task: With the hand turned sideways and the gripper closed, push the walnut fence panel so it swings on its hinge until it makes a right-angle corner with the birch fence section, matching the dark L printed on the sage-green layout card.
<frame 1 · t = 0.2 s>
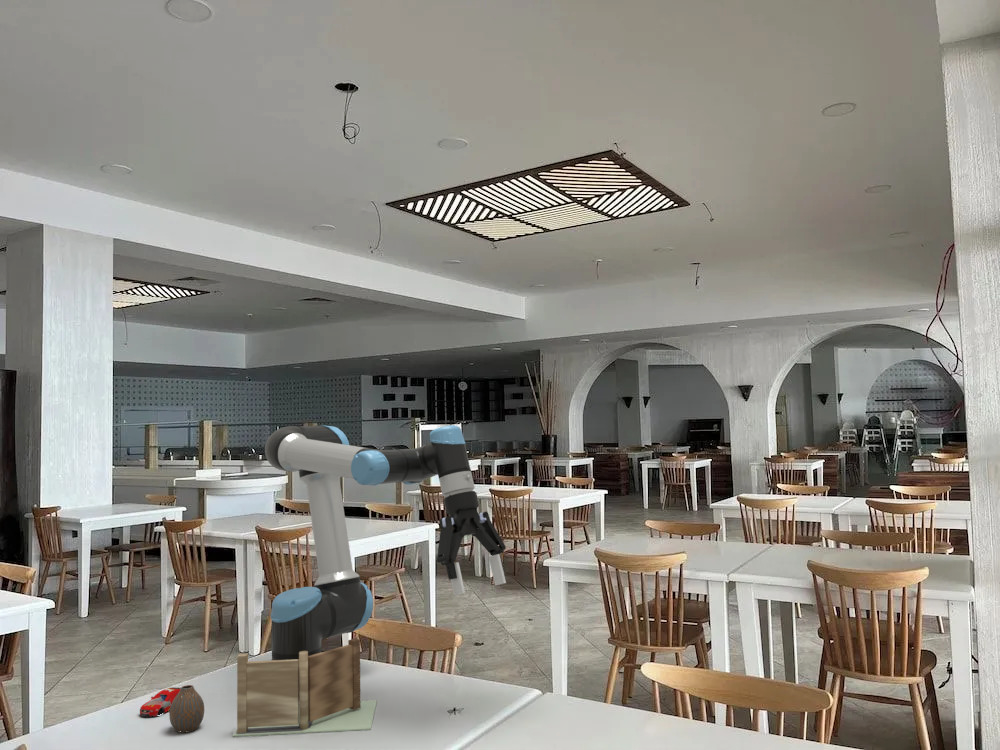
hand: (480, 589, 171), 27 cm above the table, tool tilted 15°, fingers open, 13 cm apart
walnut panel: (333, 680, 170), point 8 cm above the table, hinge at -45.0°
layout card: (308, 718, 170), on the table
race car: (165, 710, 179), on the table
birch fence section: (274, 731, 163), resting on layout card
vase: (186, 730, 166), on the table
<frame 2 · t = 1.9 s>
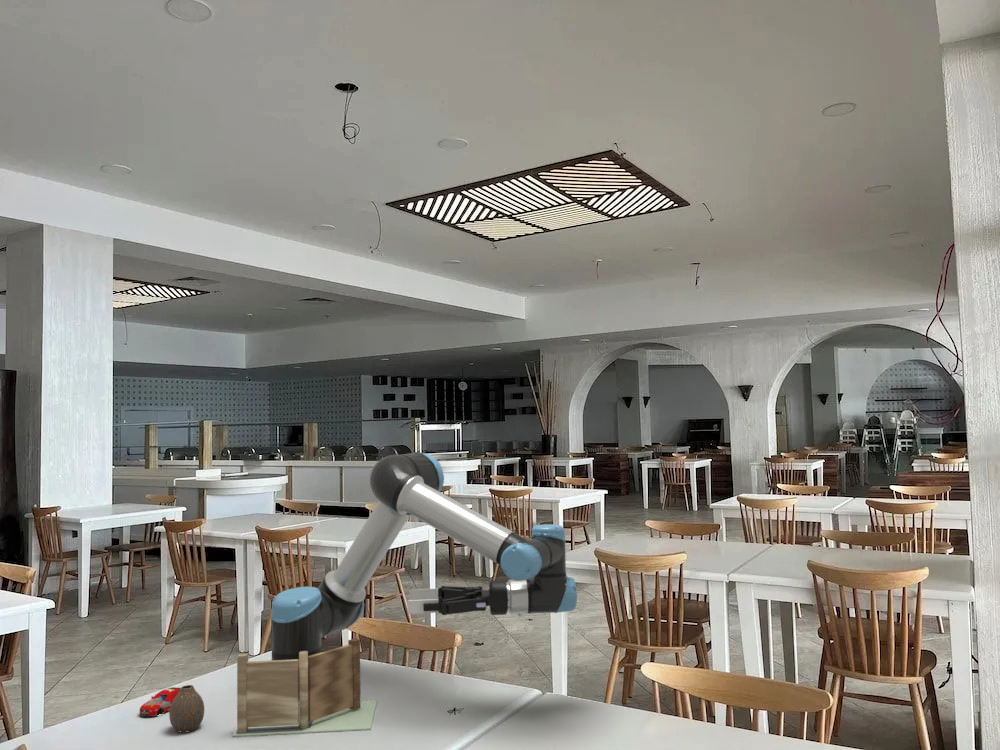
hand: (408, 601, 174), 24 cm above the table, tool horizontal, fingers open, 11 cm apart
nothing on the table moved.
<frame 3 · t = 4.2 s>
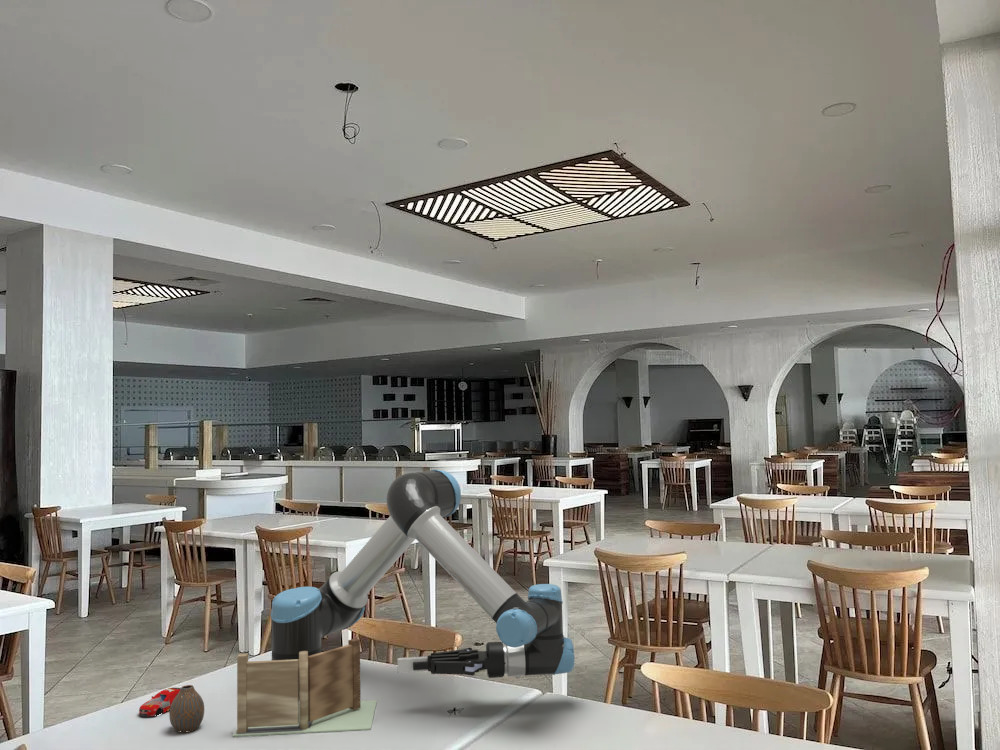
hand: (398, 665, 173), 10 cm above the table, tool horizontal, fingers closed
nothing on the table moved.
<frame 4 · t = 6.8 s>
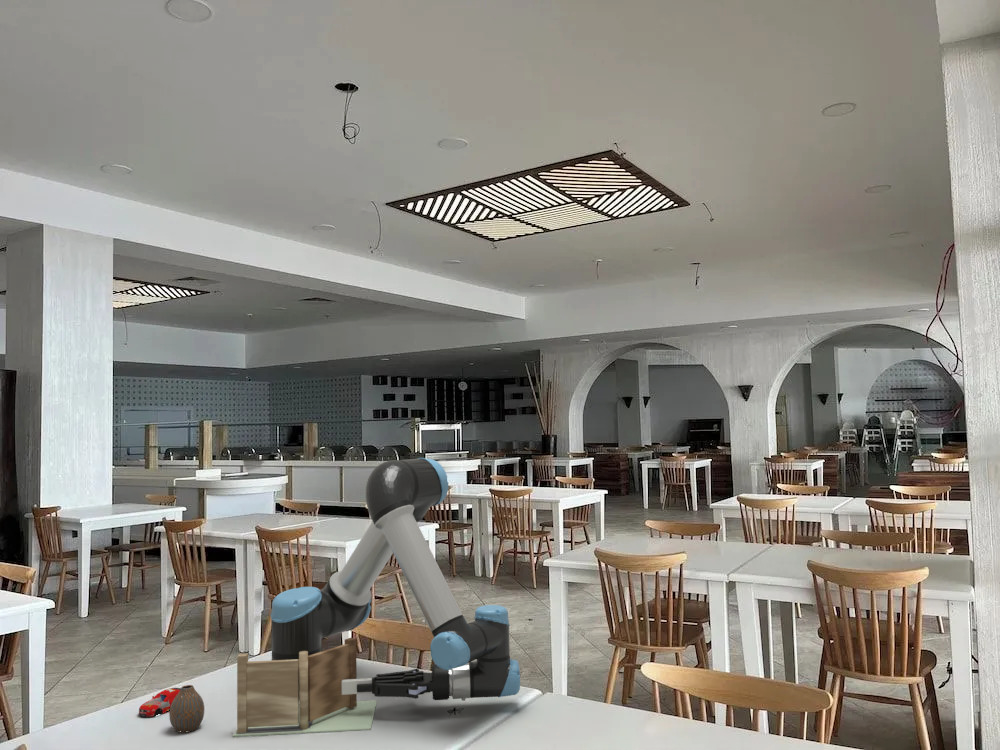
hand: (342, 687, 171), 6 cm above the table, tool horizontal, fingers closed
walnut panel: (331, 679, 171), point 8 cm above the table, hinge at -39.8°, touching gripper
everything else where it was.
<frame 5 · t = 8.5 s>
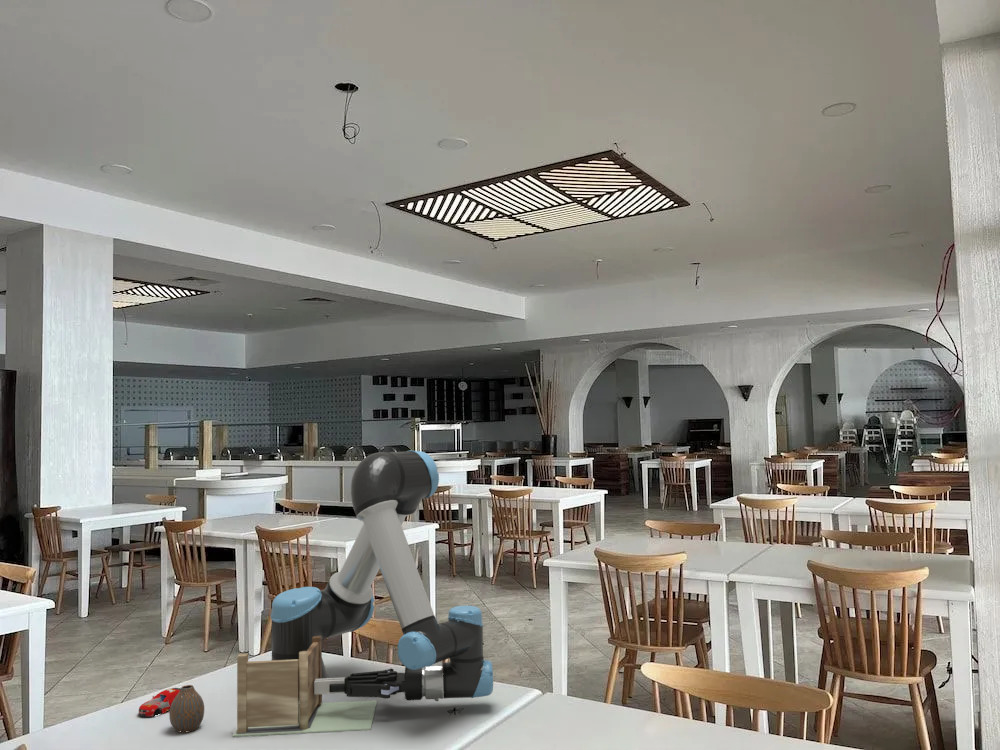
hand: (315, 686, 172), 6 cm above the table, tool horizontal, fingers closed
walnut panel: (311, 678, 172), point 8 cm above the table, hinge at -3.1°, touching gripper
everything else where it was.
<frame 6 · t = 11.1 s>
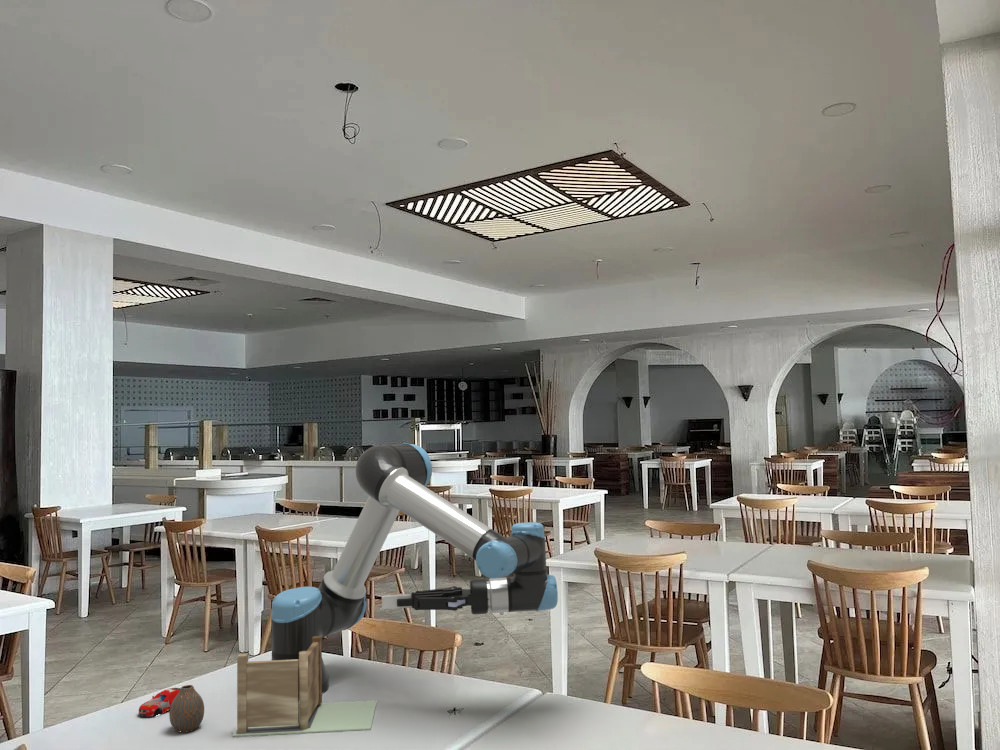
hand: (382, 602, 174), 24 cm above the table, tool horizontal, fingers closed
walnut panel: (311, 678, 172), point 8 cm above the table, hinge at -3.1°
everything else where it was.
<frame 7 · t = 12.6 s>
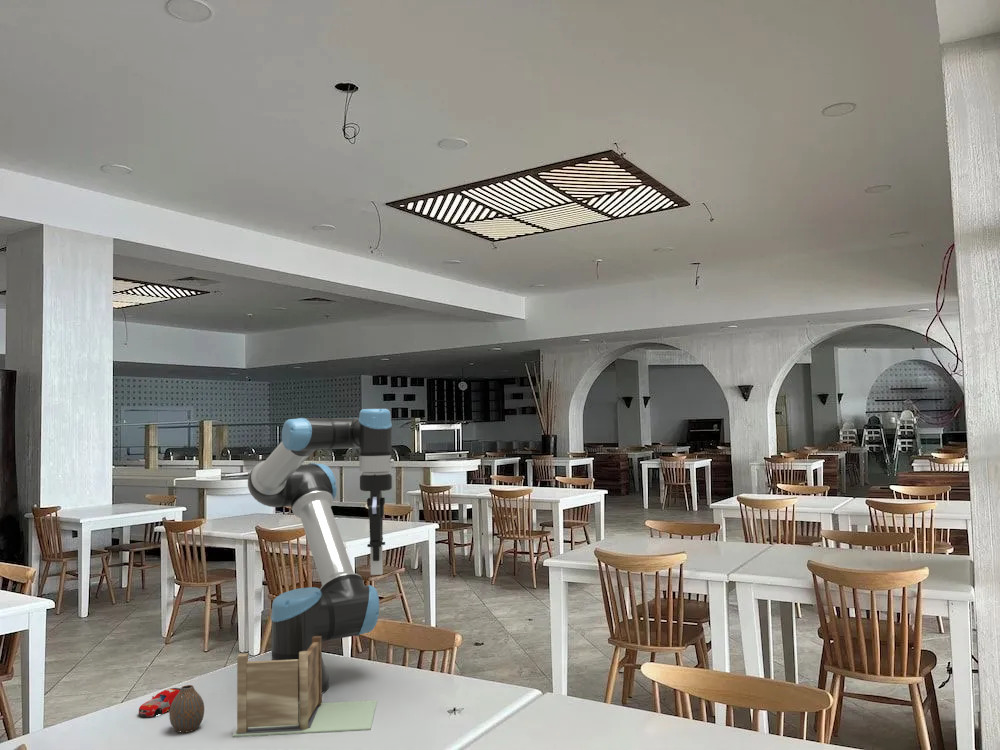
hand: (376, 574, 185), 28 cm above the table, tool pointing down, fingers closed
nothing on the table moved.
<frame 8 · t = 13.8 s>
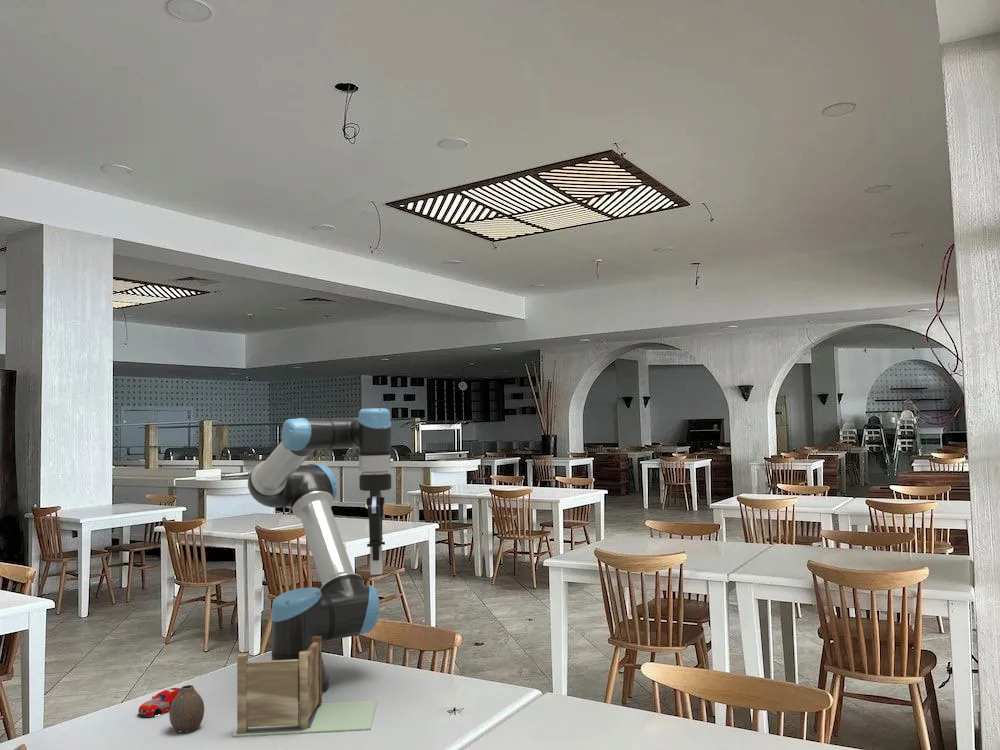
hand: (376, 573, 185), 28 cm above the table, tool pointing down, fingers closed
nothing on the table moved.
at the end: walnut panel at -3° (first picture: -45°); the gripper is holding nothing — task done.
